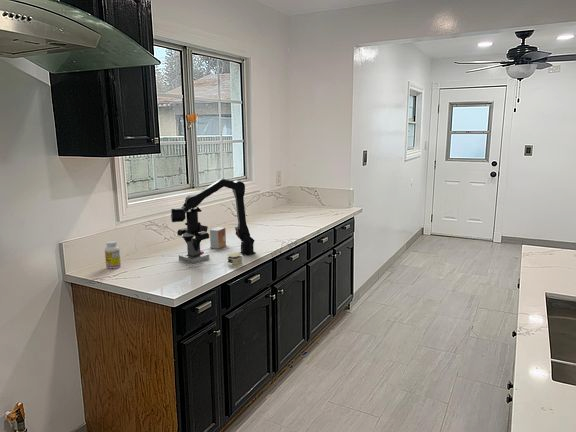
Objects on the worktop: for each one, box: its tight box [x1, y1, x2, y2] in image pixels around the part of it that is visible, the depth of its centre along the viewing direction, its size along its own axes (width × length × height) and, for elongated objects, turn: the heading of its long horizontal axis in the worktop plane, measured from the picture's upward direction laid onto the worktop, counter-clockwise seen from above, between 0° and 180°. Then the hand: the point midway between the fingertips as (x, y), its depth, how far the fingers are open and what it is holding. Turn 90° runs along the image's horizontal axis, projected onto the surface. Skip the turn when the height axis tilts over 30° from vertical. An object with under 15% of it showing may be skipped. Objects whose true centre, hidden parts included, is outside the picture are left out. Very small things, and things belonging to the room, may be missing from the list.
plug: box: [186, 237, 201, 256], centre depth 225 cm, size 4×5×8 cm
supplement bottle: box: [104, 240, 122, 270], centre depth 213 cm, size 7×7×13 cm
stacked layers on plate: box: [226, 252, 244, 268], centre depth 217 cm, size 10×9×6 cm
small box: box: [209, 226, 227, 249], centre depth 249 cm, size 8×6×10 cm
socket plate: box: [178, 250, 210, 265], centre depth 226 cm, size 11×11×3 cm
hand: (193, 250), depth 225 cm, fingers closed on plug, 4 cm apart
